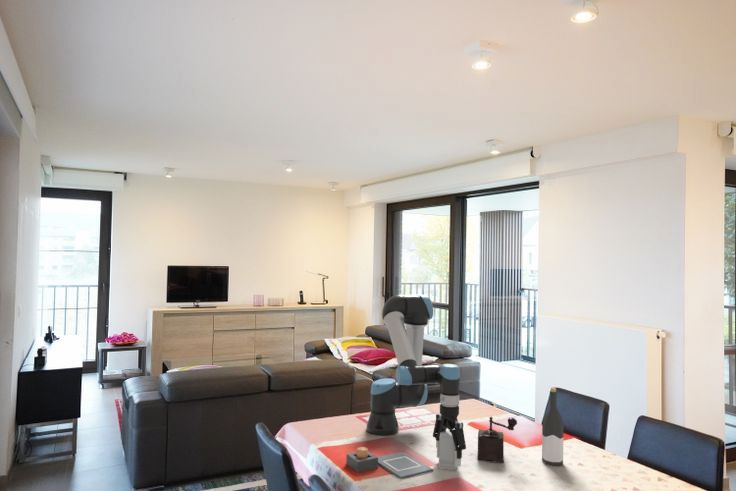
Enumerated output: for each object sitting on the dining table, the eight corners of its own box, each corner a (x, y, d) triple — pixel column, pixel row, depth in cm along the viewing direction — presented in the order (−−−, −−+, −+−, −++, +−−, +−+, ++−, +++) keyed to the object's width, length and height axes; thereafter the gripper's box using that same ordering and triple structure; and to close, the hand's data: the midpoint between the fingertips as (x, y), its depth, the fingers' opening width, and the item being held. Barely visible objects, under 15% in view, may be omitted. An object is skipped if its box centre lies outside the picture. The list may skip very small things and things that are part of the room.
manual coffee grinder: (477, 461, 209) (477, 416, 209) (477, 451, 220) (478, 408, 220) (516, 465, 205) (517, 419, 206) (515, 455, 216) (516, 412, 216)
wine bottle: (562, 460, 212) (563, 386, 212) (563, 467, 204) (564, 391, 205) (542, 457, 214) (542, 384, 215) (541, 464, 207) (542, 389, 207)
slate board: (372, 460, 207) (372, 458, 207) (402, 453, 215) (402, 451, 215) (400, 479, 190) (400, 476, 190) (432, 471, 198) (432, 468, 198)
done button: (354, 458, 202) (354, 448, 202) (364, 456, 204) (364, 446, 205) (360, 462, 198) (360, 452, 198) (369, 460, 201) (370, 450, 201)
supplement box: (457, 470, 199) (458, 437, 199) (438, 468, 200) (438, 436, 200) (458, 463, 206) (458, 431, 206) (439, 461, 207) (440, 429, 208)
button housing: (346, 464, 203) (346, 453, 203) (366, 460, 208) (366, 449, 208) (357, 472, 195) (357, 461, 195) (377, 468, 200) (378, 457, 200)
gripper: (424, 398, 211) (423, 453, 211) (461, 413, 192) (460, 474, 192) (438, 396, 215) (437, 450, 215) (476, 410, 196) (475, 470, 195)
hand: (448, 461), depth 203 cm, fingers closed on supplement box, 10 cm apart
